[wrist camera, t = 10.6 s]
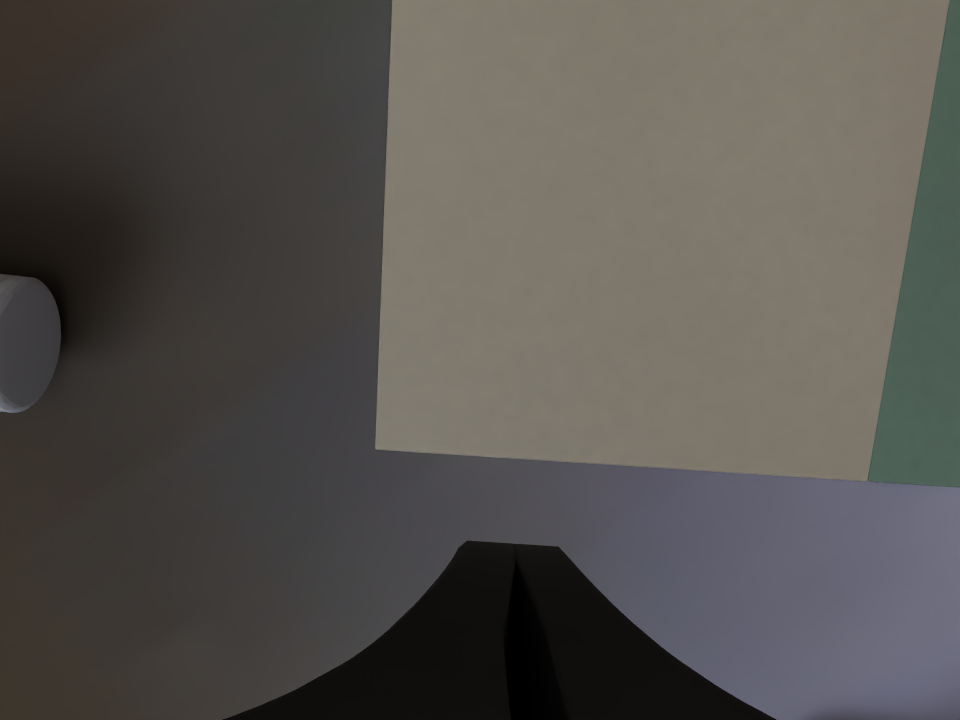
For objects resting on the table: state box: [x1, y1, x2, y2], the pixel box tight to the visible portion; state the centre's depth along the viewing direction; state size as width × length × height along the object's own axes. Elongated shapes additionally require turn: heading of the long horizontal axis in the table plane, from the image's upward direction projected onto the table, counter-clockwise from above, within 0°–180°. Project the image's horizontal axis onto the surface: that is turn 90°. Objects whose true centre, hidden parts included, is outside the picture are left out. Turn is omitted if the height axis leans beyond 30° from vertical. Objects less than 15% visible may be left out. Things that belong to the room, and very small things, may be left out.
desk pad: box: [375, 0, 960, 487], centre depth 19 cm, size 14×24×1 cm, turn 86°
